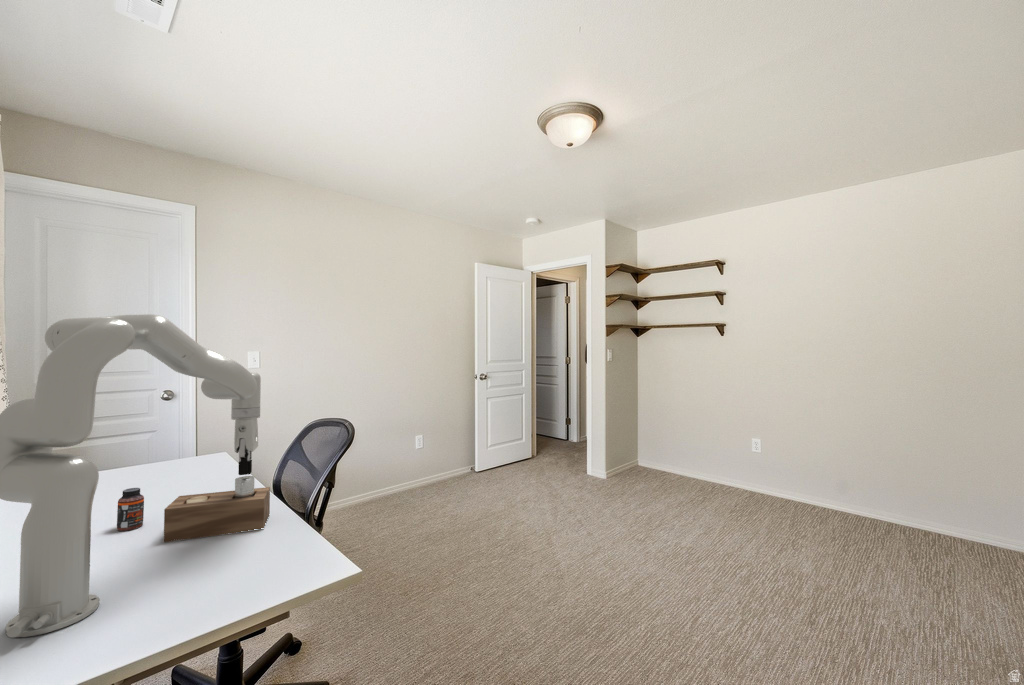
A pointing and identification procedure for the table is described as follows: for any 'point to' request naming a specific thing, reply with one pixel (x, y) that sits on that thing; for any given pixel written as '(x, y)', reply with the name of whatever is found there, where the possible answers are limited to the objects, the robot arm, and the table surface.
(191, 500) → the peg left
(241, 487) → the gray peg
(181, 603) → the table surface
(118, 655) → the table surface
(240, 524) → the walnut block
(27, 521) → the robot arm
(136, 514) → the supplement bottle
